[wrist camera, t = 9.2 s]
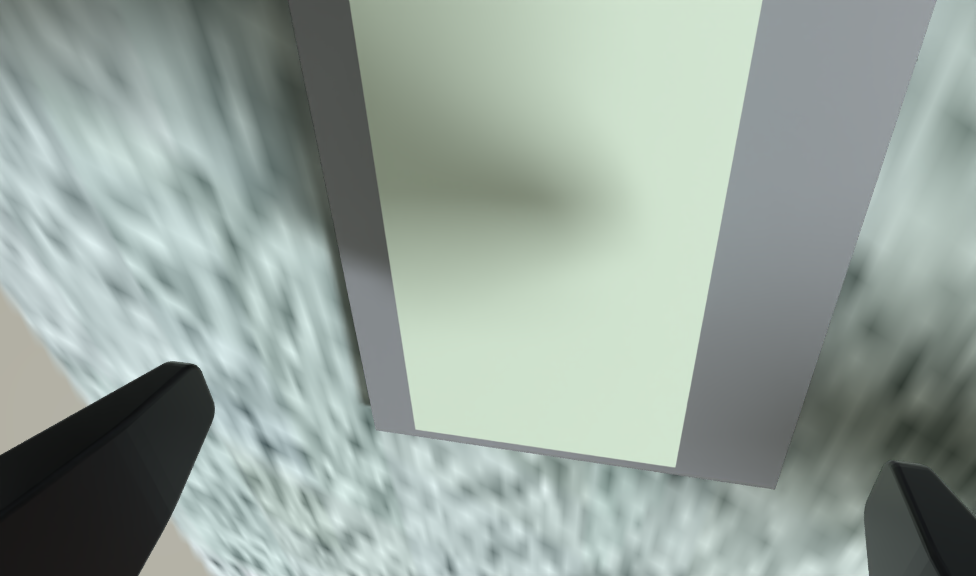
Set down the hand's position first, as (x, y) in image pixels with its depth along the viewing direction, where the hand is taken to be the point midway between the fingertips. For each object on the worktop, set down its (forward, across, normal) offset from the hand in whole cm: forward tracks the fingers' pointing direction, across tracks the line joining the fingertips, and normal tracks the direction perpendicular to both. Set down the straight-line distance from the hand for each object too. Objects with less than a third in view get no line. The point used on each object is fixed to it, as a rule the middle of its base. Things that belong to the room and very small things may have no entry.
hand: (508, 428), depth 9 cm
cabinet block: (+10, 0, +1) cm, 10 cm away
